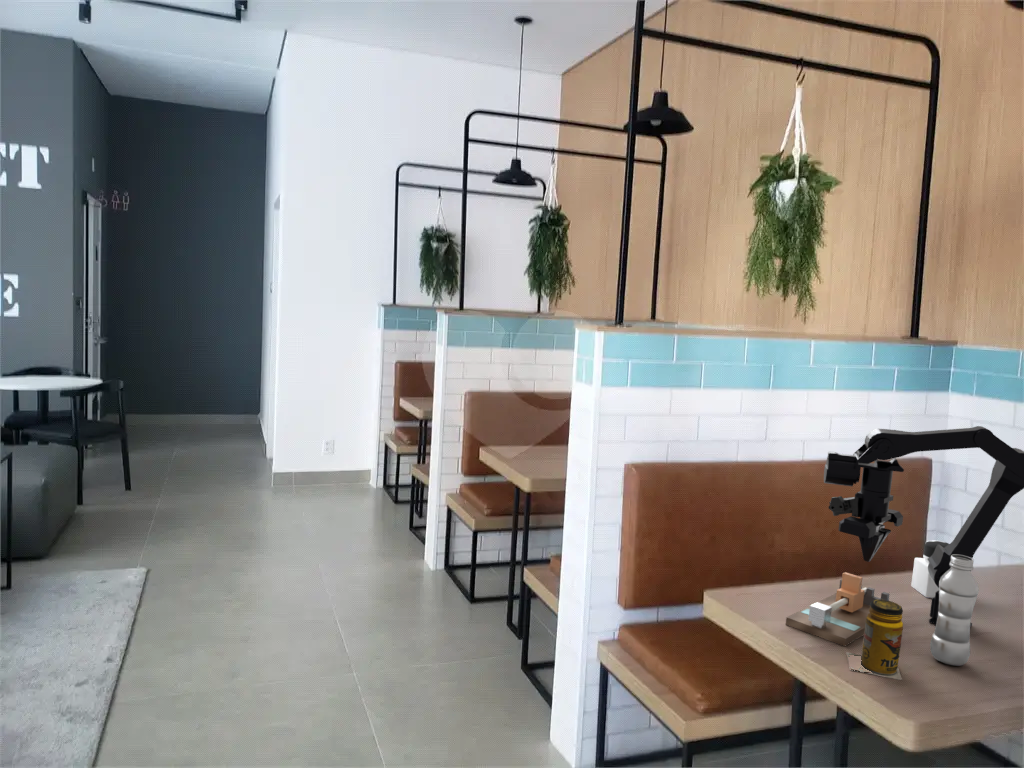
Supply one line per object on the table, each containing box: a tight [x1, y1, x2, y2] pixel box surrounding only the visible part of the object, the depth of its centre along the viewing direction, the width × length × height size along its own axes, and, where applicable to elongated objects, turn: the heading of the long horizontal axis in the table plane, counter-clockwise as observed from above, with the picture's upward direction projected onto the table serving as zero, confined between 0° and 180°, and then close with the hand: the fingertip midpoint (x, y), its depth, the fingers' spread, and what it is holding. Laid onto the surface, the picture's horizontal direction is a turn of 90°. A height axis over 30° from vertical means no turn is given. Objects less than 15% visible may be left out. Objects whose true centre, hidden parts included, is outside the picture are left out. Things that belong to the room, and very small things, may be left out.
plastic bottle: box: [929, 554, 980, 667], centre depth 145 cm, size 6×7×20 cm
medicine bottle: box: [910, 539, 950, 599], centre depth 182 cm, size 7×7×12 cm
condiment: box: [845, 599, 904, 681], centre depth 142 cm, size 7×8×12 cm
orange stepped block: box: [836, 571, 865, 612], centre depth 164 cm, size 4×5×7 cm
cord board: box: [785, 592, 870, 647], centre depth 163 cm, size 12×23×2 cm, turn 134°
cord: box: [829, 587, 868, 612], centre depth 163 cm, size 1×20×1 cm, turn 134°
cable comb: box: [838, 579, 890, 606], centre depth 170 cm, size 10×1×4 cm, turn 44°
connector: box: [808, 601, 832, 629], centre depth 155 cm, size 3×3×4 cm
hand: (867, 561), depth 168 cm, fingers closed
